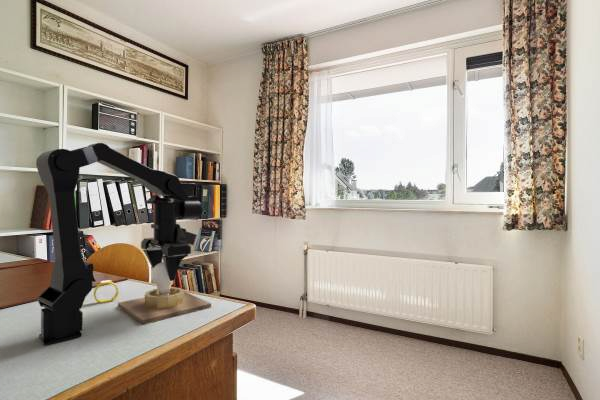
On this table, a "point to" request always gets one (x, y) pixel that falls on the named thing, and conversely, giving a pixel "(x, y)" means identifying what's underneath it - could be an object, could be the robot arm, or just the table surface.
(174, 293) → the socket collar
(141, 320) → the socket base
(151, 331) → the table surface
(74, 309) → the robot arm
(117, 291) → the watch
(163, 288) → the lightbulb
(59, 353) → the table surface
